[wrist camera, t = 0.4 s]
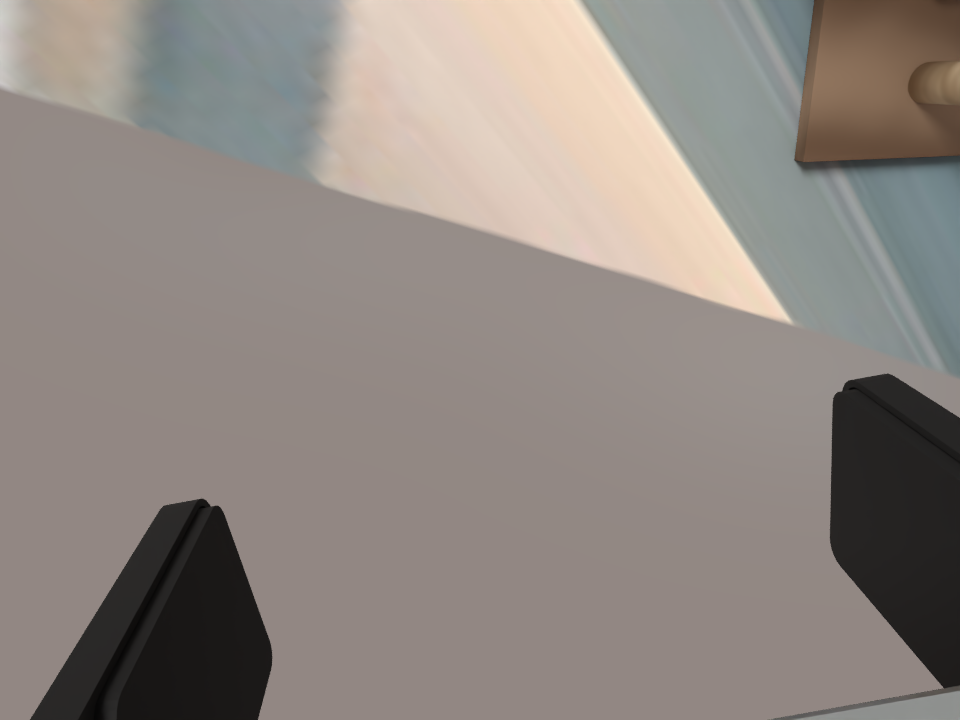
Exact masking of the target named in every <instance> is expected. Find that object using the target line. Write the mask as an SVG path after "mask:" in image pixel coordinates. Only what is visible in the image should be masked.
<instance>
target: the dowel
mask: <svg viewBox="0 0 960 720" xmlns="http://www.w3.org/2000/svg"><path fill="white" fill-rule="evenodd" d="M908 92H909V95H910V97H911V98H912V99H913V100H914V101H915V102H917V103H923V104H944V105H960V61H936V62H926V63H924V64H922V65H920V66H919V67H917V68H916V69H915V70H914V72H913V73H912V75H911V77H910V79H909V82H908Z"/></svg>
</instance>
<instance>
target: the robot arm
mask: <svg viewBox="0 0 960 720" xmlns="http://www.w3.org/2000/svg"><path fill="white" fill-rule="evenodd" d="M831 470H832V471H831V518H830V519H831V520H830V543H831V547H832V551H833V554H834V556H835V558H836V560H837V562H838V563H839V565H840V566H841V567H842V569H843V570H844V571H845V572H846V573H847V574H848V576H849V577H850V578H851V579H852V580H853V581H854V582H855V584H856V585H857V586H858V587H859V589H860V590H861V591H862V592H863V593H864V594H865V596H866V597H867V598H868V599H869V600H870V602H871V603H872V604H873V605H874V606H875V607H876V609H877V610H878V611H879V612H880V613H881V614H882V616H883V617H884V618H885V619H886V620H887V622H888V623H889V624H890V625H891V626H892V627H893V629H894V630H895V631H896V632H897V633H898V635H899V636H900V637H901V638H902V639H903V640H904V642H905V643H906V644H907V645H908V646H909V648H910V649H911V650H912V651H913V652H914V653H915V655H916V656H917V657H918V658H919V659H920V660H921V661H922V663H923V664H924V665H925V666H926V667H927V669H928V670H929V671H930V672H931V673H932V675H933V676H934V677H935V678H936V679H937V680H938V682H939V683H940V684H941V685H942V686H943V688H944V689H938V690H933V691H927V692H921V693H916V694H910V695H905V696H899V697H893V698H888V699H882V700H876V701H871V702H865V703H860V704H854V705H848V706H843V707H837V708H831V709H826V710H820V711H814V712H809V713H803V714H797V715H793V716H786V717H781V718H775V719H769V720H960V418H959V417H957V416H956V415H954V414H953V413H951V412H949V411H948V410H946V409H945V408H943V407H942V406H940V405H939V404H937V403H935V402H934V401H932V400H931V399H929V398H928V397H926V396H924V395H923V394H921V393H920V392H918V391H917V390H915V389H913V388H912V387H910V386H909V385H907V384H906V383H904V382H902V381H901V380H899V379H898V378H896V377H895V376H893V375H890V374H882V375H877V376H871V377H866V378H860V379H855V380H850V381H848V382H846V383H845V385H844V387H843V391H842V392H838V393H836V394H835V396H834V398H833V418H832V467H831ZM271 666H272V650H271V644H270V640H269V638H268V635H267V632H266V629H265V626H264V624H263V621H262V618H261V615H260V613H259V610H258V607H257V604H256V602H255V599H254V596H253V593H252V590H251V587H250V585H249V582H248V579H247V577H246V574H245V571H244V568H243V565H242V562H241V560H240V557H239V554H238V551H237V548H236V546H235V543H234V540H233V537H232V535H231V532H230V529H229V526H228V523H227V521H226V518H225V515H224V513H223V511H222V509H221V508H220V507H219V506H212V507H211V506H210V505H209V504H208V502H207V501H206V500H204V499H198V500H192V501H187V502H181V503H176V504H170V505H166V506H163V507H162V508H161V509H160V511H159V513H158V514H157V516H156V517H155V519H154V521H153V522H152V524H151V525H150V527H149V528H148V530H147V532H146V534H145V535H144V537H143V538H142V540H141V541H140V543H139V545H138V546H137V548H136V550H135V551H134V553H133V554H132V556H131V558H130V559H129V561H128V562H127V564H126V566H125V567H124V569H123V570H122V572H121V574H120V575H119V577H118V579H117V580H116V582H115V583H114V585H113V587H112V588H111V590H110V591H109V593H108V595H107V596H106V598H105V600H104V601H103V603H102V605H101V606H100V608H99V609H98V611H97V612H96V614H95V616H94V617H93V619H92V621H91V622H90V624H89V625H88V627H87V629H86V630H85V632H84V634H83V635H82V637H81V638H80V640H79V642H78V643H77V645H76V647H75V648H74V650H73V651H72V653H71V655H70V656H69V658H68V659H67V661H66V663H65V664H64V666H63V668H62V669H61V671H60V672H59V674H58V675H57V677H56V679H55V680H54V682H53V684H52V685H51V687H50V689H49V690H48V692H47V693H46V695H45V696H44V698H43V700H42V702H41V703H40V705H39V706H38V708H37V709H36V711H35V713H34V714H33V716H32V717H31V719H30V720H258V717H259V713H260V709H261V705H262V702H263V698H264V694H265V690H266V687H267V683H268V679H269V675H270V671H271Z"/></svg>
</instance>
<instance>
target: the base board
mask: <svg viewBox="0 0 960 720" xmlns="http://www.w3.org/2000/svg"><path fill="white" fill-rule="evenodd" d="M936 61H960V0H814V8H813V16H812V24H811V32H810V40H809V48H808V56H807V64H806V72H805V80H804V88H803V96H802V104H801V112H800V120H799V128H798V136H797V144H796V152H795V160H797V161H801V162H815V161H839V160H863V159H886V158H910V157H934V156H958V155H960V105H944V104H923V103H917V102H915V101H914V100H913V99H912V98H911V97H910V95H909V92H908V82H909V79H910V77H911V75H912V73H913V72H914V70H915V69H916V68H917V67H919V66H920V65H922V64H924V63H926V62H936Z"/></svg>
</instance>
